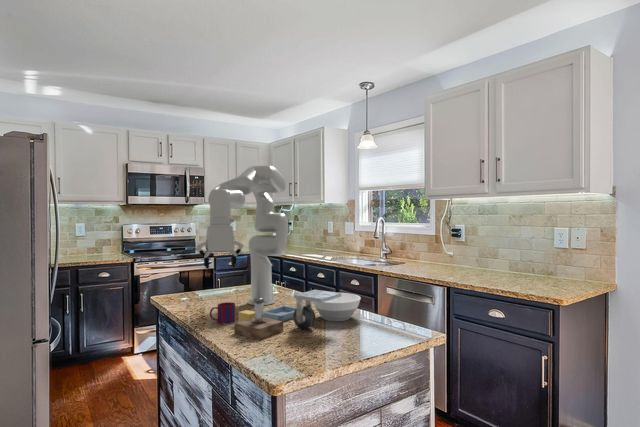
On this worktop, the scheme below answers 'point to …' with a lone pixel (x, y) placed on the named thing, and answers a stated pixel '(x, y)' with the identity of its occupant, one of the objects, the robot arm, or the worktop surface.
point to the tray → (280, 313)
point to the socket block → (258, 328)
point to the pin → (259, 310)
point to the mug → (225, 313)
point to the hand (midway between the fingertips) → (220, 267)
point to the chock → (245, 315)
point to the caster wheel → (310, 306)
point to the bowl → (338, 307)
